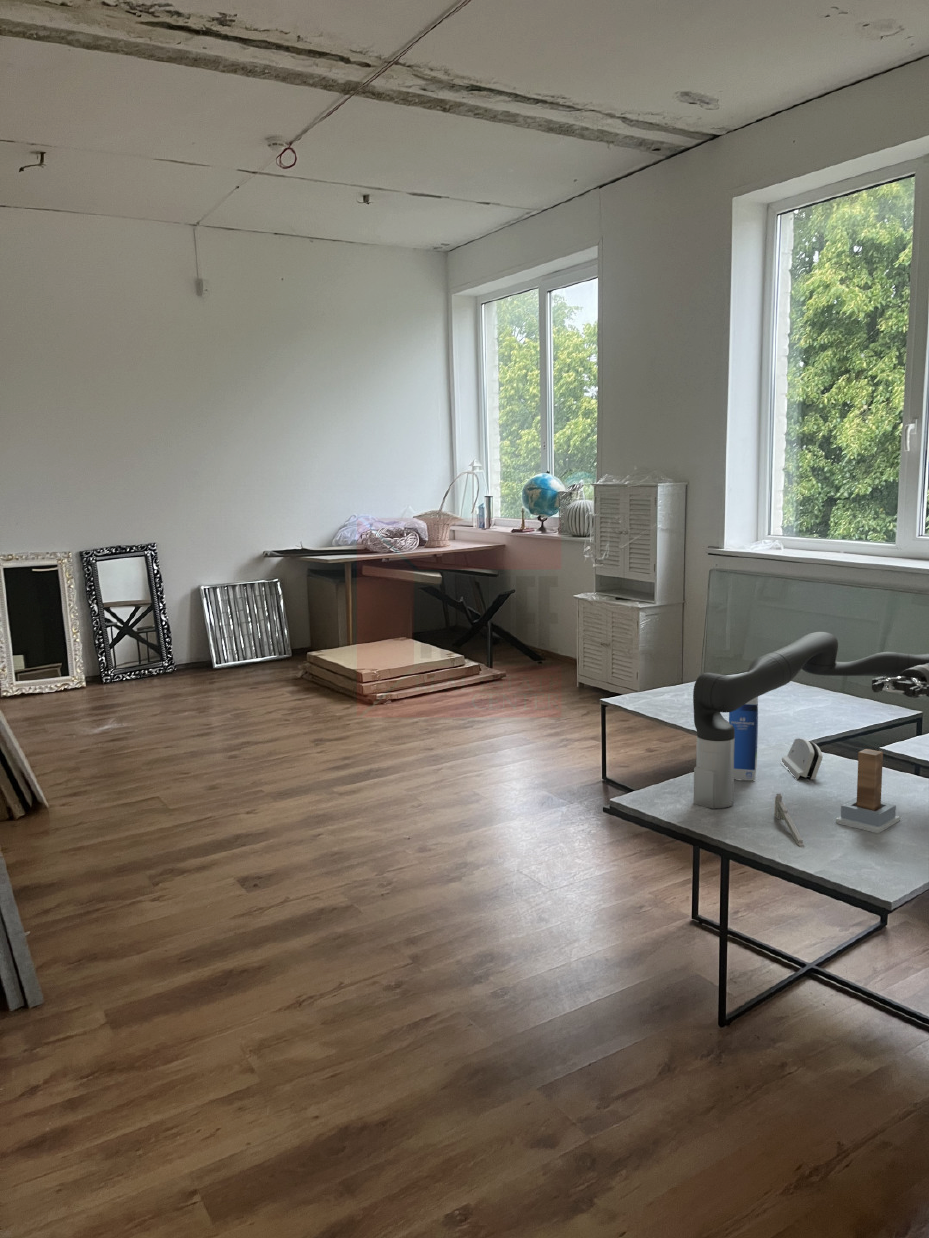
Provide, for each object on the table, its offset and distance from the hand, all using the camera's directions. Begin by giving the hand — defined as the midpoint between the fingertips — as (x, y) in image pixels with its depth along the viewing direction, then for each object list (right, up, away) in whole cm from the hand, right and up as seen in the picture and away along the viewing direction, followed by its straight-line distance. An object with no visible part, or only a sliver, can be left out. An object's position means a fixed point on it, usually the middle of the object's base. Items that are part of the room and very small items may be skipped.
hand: (892, 690), depth 219 cm
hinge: (-8, -26, +37) cm, 46 cm away
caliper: (-28, -32, -8) cm, 44 cm away
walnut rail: (-8, -30, -4) cm, 31 cm away
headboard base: (-8, -31, -4) cm, 32 cm away
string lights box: (-25, -26, +35) cm, 51 cm away
